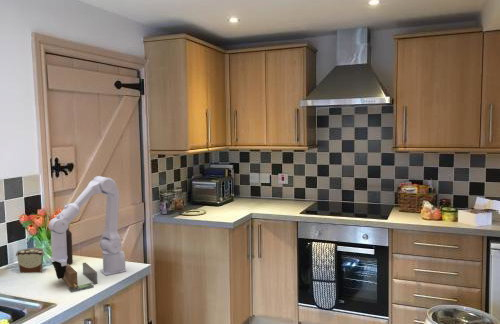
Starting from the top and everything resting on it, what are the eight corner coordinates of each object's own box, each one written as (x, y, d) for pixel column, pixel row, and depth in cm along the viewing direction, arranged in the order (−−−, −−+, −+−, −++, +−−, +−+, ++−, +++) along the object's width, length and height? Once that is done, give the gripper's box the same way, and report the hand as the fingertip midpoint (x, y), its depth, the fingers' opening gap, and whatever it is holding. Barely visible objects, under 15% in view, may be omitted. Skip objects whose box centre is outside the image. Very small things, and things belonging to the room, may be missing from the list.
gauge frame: (85, 273, 193) (85, 262, 192) (99, 286, 178) (99, 274, 177) (58, 278, 186) (58, 267, 185) (71, 292, 171) (70, 280, 170)
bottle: (54, 264, 204) (52, 223, 202) (66, 260, 210) (65, 221, 208) (63, 267, 201) (61, 225, 199) (75, 263, 206) (74, 222, 205)
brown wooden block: (68, 276, 187) (67, 263, 187) (80, 289, 174) (79, 274, 173) (61, 278, 185) (60, 264, 185) (72, 290, 172) (71, 276, 171)
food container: (50, 268, 199) (49, 247, 198) (44, 272, 193) (43, 251, 192) (23, 268, 199) (22, 247, 198) (16, 273, 193) (15, 251, 192)
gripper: (44, 244, 181) (46, 275, 182) (53, 252, 169) (54, 285, 170) (62, 241, 185) (63, 271, 186) (71, 249, 173) (72, 281, 175)
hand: (60, 278), depth 179 cm, fingers closed, pressing on brown wooden block
